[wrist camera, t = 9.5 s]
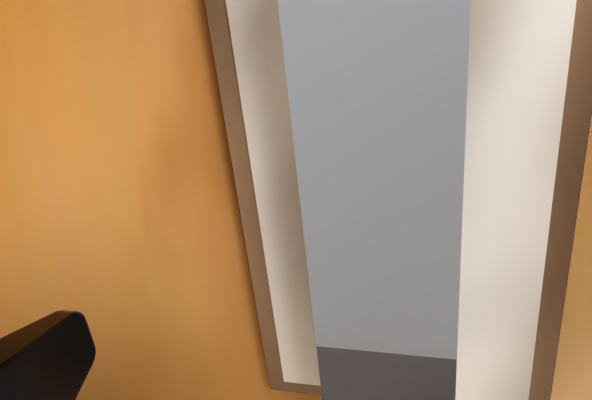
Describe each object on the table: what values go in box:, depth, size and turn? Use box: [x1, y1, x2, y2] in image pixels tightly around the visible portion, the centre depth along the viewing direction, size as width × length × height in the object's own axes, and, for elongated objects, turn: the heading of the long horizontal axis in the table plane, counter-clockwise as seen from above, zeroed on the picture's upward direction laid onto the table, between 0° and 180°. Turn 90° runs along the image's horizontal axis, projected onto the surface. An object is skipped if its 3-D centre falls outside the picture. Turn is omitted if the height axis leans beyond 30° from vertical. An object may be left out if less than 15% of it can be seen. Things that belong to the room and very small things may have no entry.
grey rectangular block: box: [278, 0, 471, 400], centre depth 14 cm, size 4×14×4 cm, turn 6°
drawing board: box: [204, 0, 592, 400], centre depth 16 cm, size 10×20×1 cm, turn 6°
